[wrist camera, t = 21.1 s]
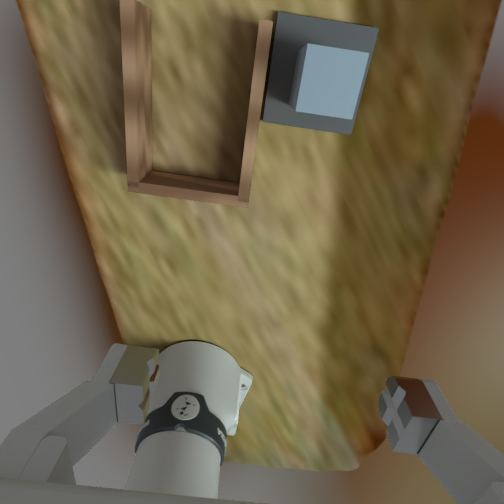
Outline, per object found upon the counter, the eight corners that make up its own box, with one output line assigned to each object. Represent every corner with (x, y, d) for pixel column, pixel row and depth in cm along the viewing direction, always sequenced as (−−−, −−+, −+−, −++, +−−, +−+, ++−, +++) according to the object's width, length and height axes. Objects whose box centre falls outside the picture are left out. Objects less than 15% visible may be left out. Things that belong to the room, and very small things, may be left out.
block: (334, 111, 35) (352, 119, 28) (288, 104, 35) (295, 111, 28) (346, 58, 33) (369, 53, 26) (297, 51, 33) (307, 43, 26)
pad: (349, 134, 37) (351, 134, 37) (262, 121, 37) (262, 121, 36) (377, 29, 32) (379, 28, 32) (277, 12, 32) (278, 11, 31)
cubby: (249, 193, 41) (247, 207, 36) (142, 179, 40) (127, 191, 36) (271, 29, 33) (273, 21, 28) (138, 7, 32) (119, -4, 28)
